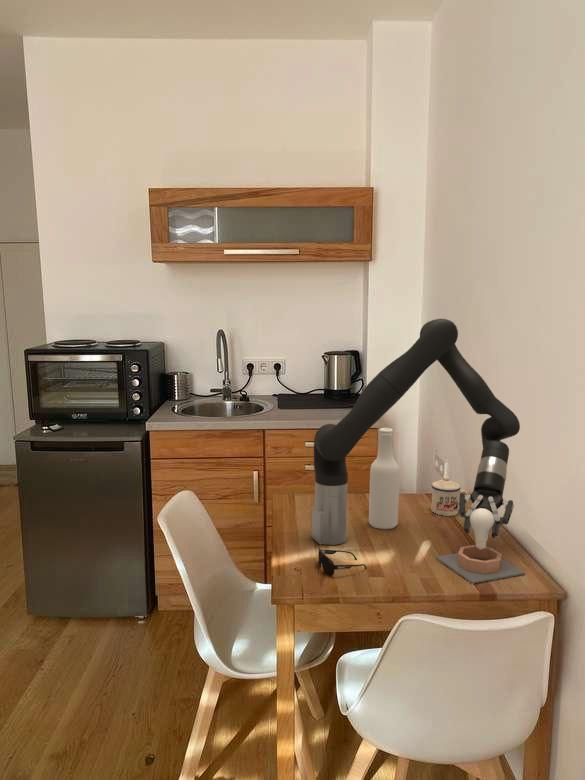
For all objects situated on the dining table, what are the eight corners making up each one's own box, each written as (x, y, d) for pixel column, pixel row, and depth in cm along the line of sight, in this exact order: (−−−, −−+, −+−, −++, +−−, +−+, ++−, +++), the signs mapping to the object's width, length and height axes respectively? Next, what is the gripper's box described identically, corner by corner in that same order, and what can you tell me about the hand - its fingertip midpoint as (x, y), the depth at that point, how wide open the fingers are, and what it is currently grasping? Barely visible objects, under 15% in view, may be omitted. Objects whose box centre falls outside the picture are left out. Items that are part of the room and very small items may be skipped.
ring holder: (472, 584, 156) (473, 570, 156) (435, 558, 171) (436, 546, 170) (524, 574, 162) (525, 561, 161) (484, 550, 177) (485, 538, 176)
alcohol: (395, 519, 200) (399, 426, 195) (399, 530, 191) (403, 432, 186) (367, 519, 200) (370, 425, 195) (369, 529, 191) (372, 432, 187)
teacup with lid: (434, 516, 203) (436, 481, 201) (427, 507, 212) (428, 473, 210) (471, 516, 203) (473, 481, 201) (463, 507, 212) (465, 473, 210)
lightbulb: (495, 554, 163) (498, 513, 161) (471, 554, 163) (473, 513, 161) (489, 544, 169) (491, 505, 167) (465, 544, 169) (467, 504, 167)
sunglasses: (311, 562, 168) (314, 544, 168) (352, 562, 173) (355, 544, 172) (326, 579, 159) (329, 560, 158) (369, 578, 163) (372, 560, 162)
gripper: (462, 466, 173) (449, 523, 164) (517, 474, 166) (508, 533, 158) (465, 480, 178) (453, 535, 170) (519, 488, 172) (510, 545, 163)
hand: (480, 534), depth 164 cm, fingers closed on lightbulb, 6 cm apart
